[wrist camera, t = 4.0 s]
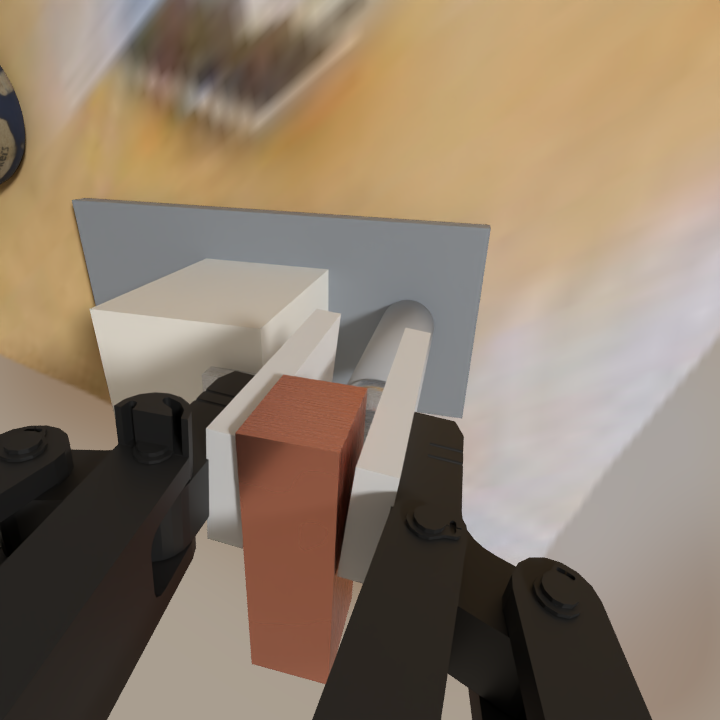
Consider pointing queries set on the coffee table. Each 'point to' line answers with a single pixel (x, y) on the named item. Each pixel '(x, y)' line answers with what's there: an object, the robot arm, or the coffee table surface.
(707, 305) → the coffee table surface
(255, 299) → the white block
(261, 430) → the multicoloured piece
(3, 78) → the canister
